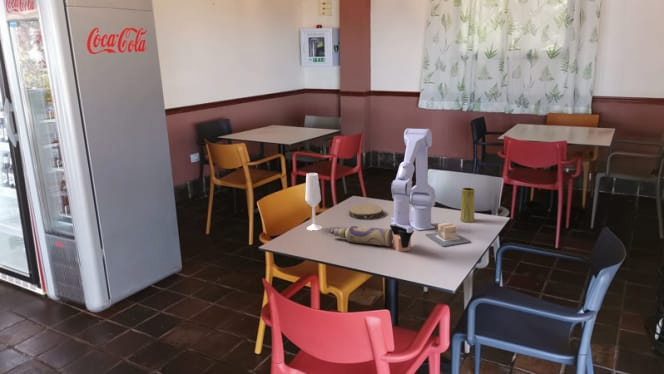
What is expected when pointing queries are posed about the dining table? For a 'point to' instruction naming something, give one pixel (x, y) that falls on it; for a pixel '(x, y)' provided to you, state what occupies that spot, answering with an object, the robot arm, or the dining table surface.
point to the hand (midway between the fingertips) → (401, 244)
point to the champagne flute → (313, 196)
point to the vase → (467, 205)
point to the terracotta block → (398, 245)
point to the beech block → (447, 231)
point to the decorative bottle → (365, 235)
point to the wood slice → (366, 211)
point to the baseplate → (450, 242)
